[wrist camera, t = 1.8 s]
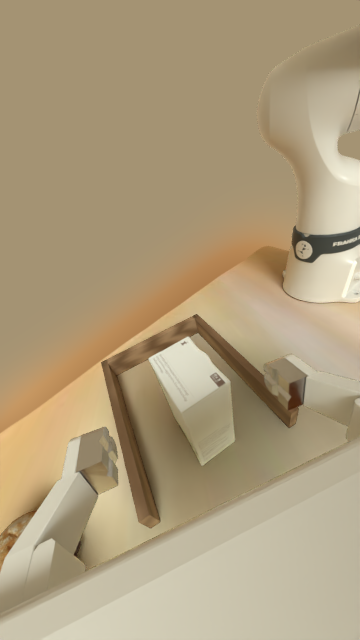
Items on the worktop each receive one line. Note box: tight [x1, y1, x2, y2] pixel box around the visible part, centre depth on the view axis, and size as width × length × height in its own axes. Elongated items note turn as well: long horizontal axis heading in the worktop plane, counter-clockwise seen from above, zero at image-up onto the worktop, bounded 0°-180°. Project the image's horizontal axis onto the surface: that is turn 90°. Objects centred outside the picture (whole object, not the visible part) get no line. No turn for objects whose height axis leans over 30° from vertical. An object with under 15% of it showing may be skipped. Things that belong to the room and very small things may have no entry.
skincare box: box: [148, 336, 235, 466], centre depth 27 cm, size 8×6×15 cm
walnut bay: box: [101, 314, 299, 528], centre depth 35 cm, size 22×26×4 cm
